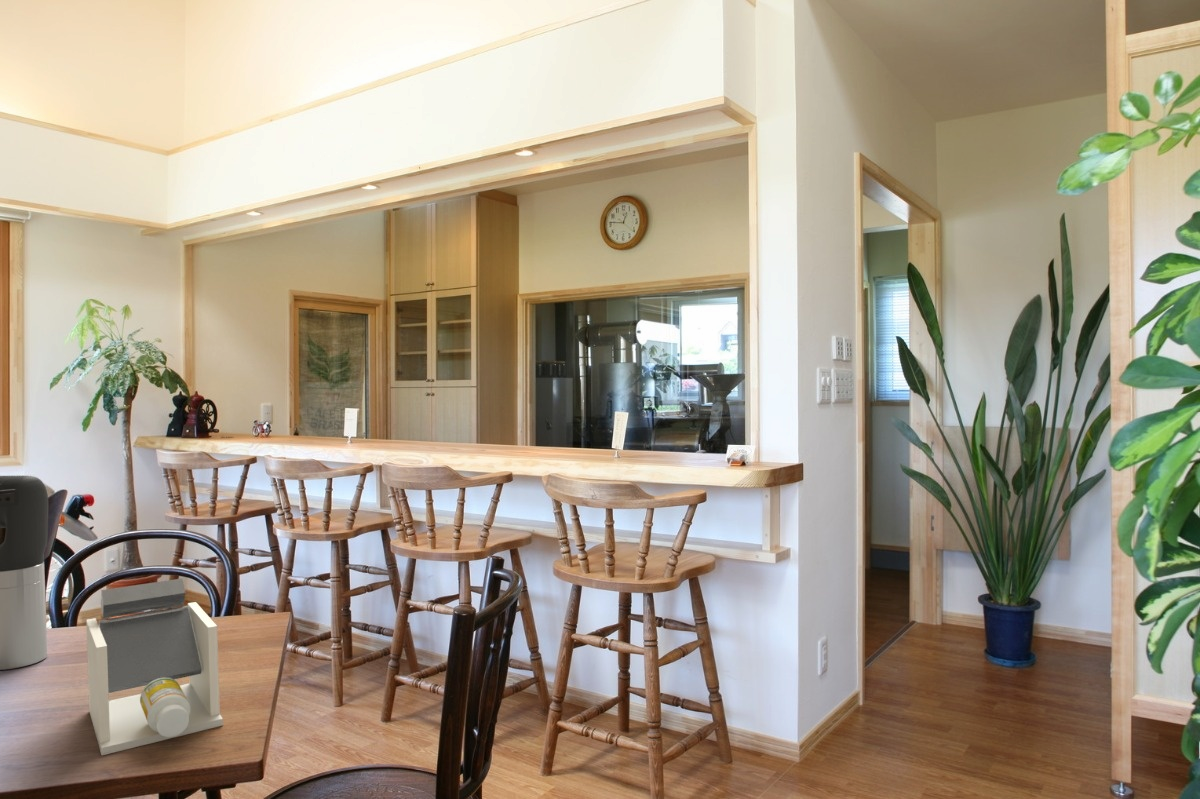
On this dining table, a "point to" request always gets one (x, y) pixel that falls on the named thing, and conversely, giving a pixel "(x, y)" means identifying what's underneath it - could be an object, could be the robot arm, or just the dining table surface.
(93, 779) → the dining table surface
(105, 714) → the trapdoor stand
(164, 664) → the trapdoor
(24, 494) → the robot arm
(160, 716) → the supplement bottle
